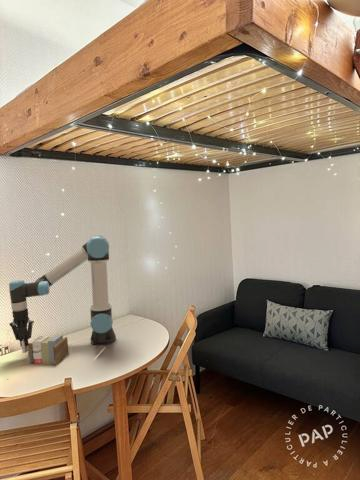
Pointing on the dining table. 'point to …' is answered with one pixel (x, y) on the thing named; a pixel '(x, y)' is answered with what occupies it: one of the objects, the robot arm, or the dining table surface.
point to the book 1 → (45, 351)
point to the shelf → (57, 350)
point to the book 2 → (51, 343)
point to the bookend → (31, 356)
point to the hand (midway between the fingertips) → (25, 351)
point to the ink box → (38, 349)
